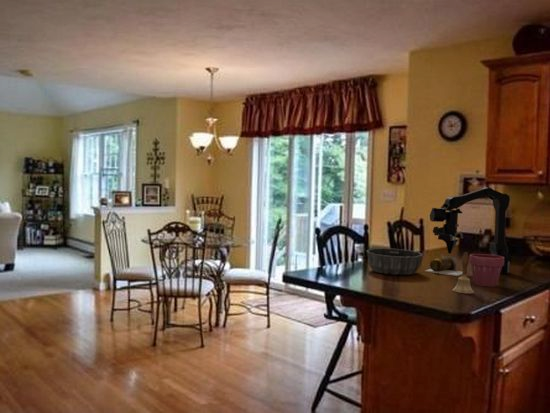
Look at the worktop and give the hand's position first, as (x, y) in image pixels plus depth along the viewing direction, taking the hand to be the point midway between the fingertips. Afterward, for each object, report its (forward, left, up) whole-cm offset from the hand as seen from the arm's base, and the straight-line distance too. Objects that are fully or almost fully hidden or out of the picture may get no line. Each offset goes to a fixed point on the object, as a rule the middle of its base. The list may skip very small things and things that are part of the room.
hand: (449, 253), depth 262 cm
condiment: (+1, -2, -5) cm, 6 cm away
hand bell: (-22, +45, -9) cm, 51 cm away
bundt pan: (+18, +25, -9) cm, 32 cm away
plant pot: (-24, +22, -9) cm, 34 cm away
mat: (0, +5, -9) cm, 10 cm away
